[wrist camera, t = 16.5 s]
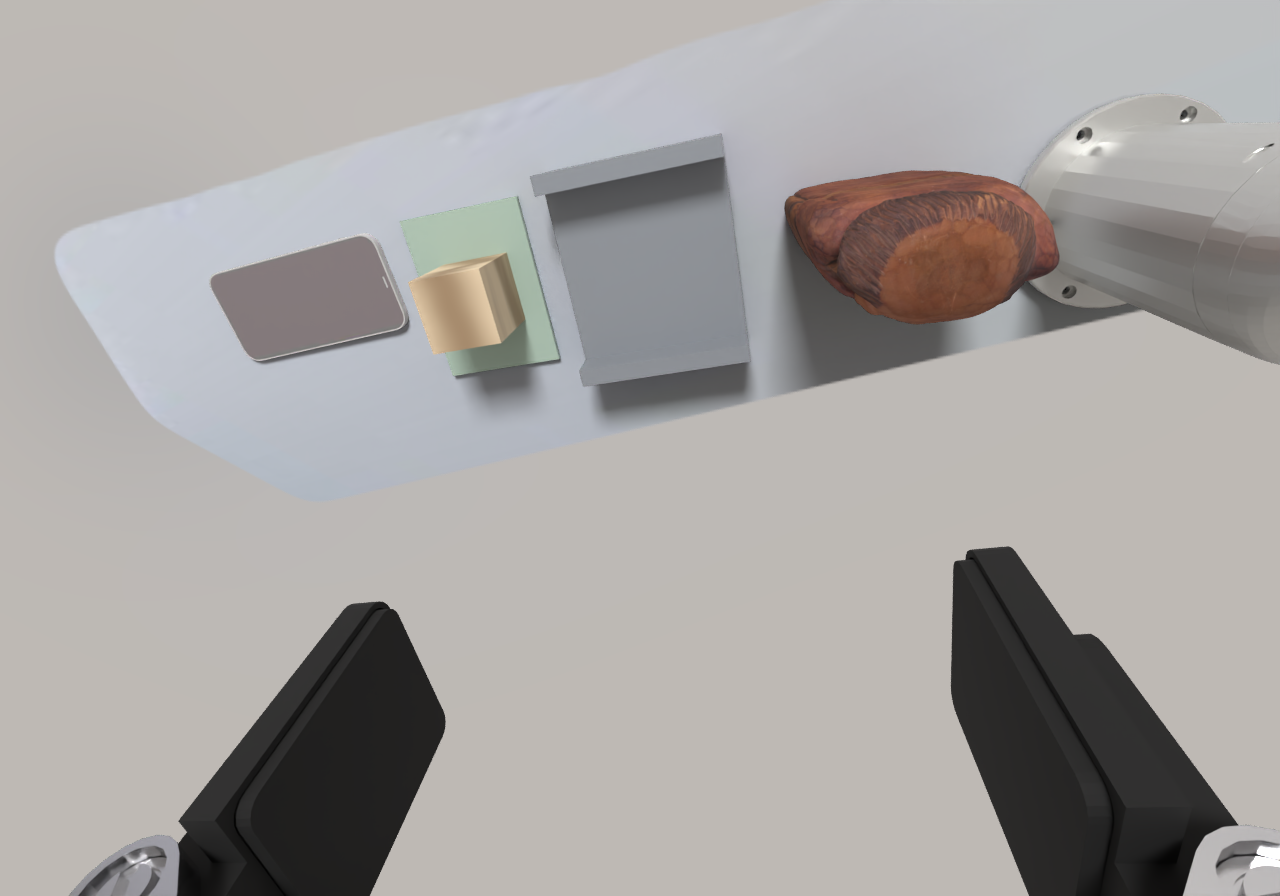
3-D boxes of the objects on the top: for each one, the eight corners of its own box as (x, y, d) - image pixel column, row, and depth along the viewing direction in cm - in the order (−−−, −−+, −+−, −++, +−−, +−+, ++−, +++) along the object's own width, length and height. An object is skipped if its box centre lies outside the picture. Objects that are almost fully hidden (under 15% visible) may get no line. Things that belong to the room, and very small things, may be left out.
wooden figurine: (781, 276, 45) (815, 359, 29) (779, 179, 42) (815, 211, 26) (958, 259, 43) (1099, 337, 27) (968, 156, 40) (1133, 176, 24)
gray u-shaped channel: (721, 133, 41) (721, 134, 37) (748, 341, 47) (750, 361, 43) (547, 171, 43) (529, 176, 39) (594, 365, 49) (583, 386, 45)
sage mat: (517, 196, 44) (516, 196, 44) (560, 357, 49) (559, 359, 49) (402, 220, 46) (399, 221, 45) (454, 374, 51) (453, 376, 51)
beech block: (506, 252, 46) (478, 268, 40) (525, 319, 48) (501, 343, 42) (443, 264, 47) (408, 282, 41) (464, 329, 49) (433, 354, 43)
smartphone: (203, 275, 49) (370, 230, 46) (211, 272, 50) (376, 228, 47) (250, 363, 52) (409, 327, 49) (257, 360, 53) (415, 324, 50)
